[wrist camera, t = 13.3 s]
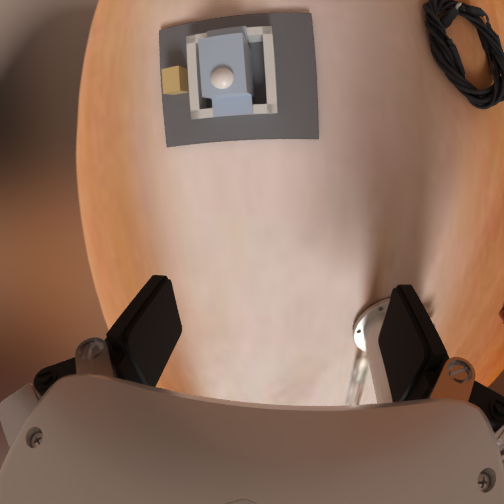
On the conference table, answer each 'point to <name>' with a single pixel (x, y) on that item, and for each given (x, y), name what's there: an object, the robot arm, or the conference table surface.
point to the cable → (450, 57)
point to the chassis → (264, 73)
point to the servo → (227, 71)
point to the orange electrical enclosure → (502, 315)
